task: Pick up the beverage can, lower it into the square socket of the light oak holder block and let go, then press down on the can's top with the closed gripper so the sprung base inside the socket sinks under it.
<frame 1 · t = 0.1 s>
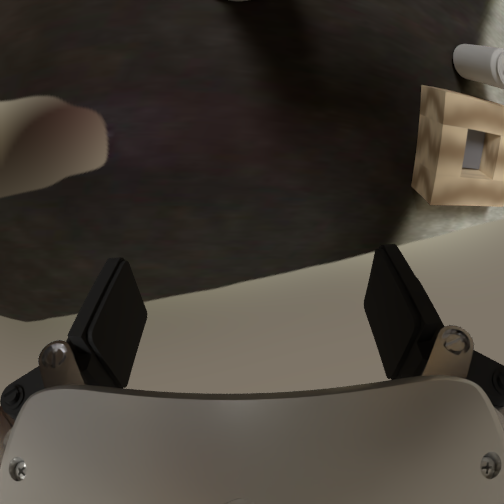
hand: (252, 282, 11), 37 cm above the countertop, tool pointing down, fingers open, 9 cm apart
sprung base: (466, 146, 40), point 3 cm above the countertop, slide at 0.0 cm
beverage can: (463, 61, 33), on the countertop
holder block: (458, 141, 42), on the countertop
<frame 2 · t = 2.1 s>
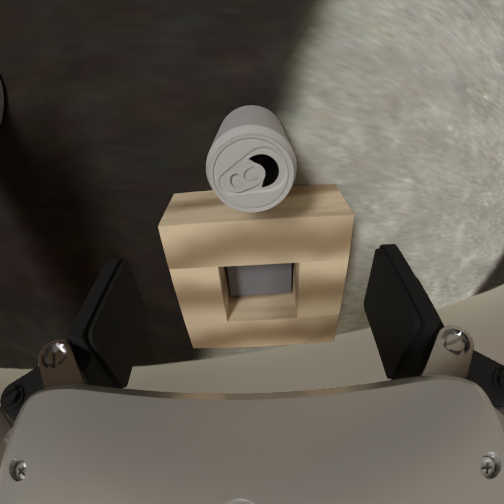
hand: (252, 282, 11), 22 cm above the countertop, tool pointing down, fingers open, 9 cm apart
sprung base: (259, 268, 36), point 3 cm above the countertop, slide at 0.0 cm
beverage can: (251, 133, 30), on the countertop
holder block: (258, 254, 38), on the countertop
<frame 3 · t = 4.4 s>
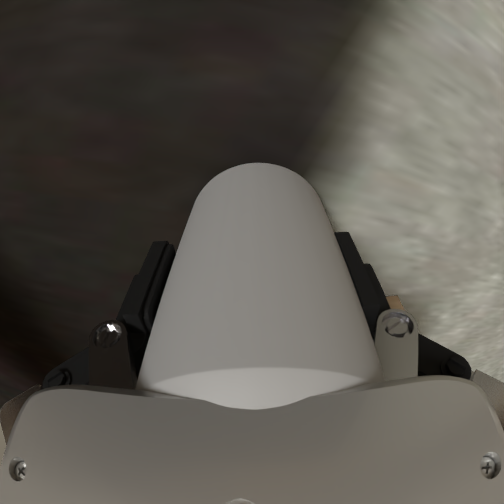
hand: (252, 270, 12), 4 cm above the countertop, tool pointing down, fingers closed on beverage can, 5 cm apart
beverage can: (257, 216, 15), on the countertop, touching gripper
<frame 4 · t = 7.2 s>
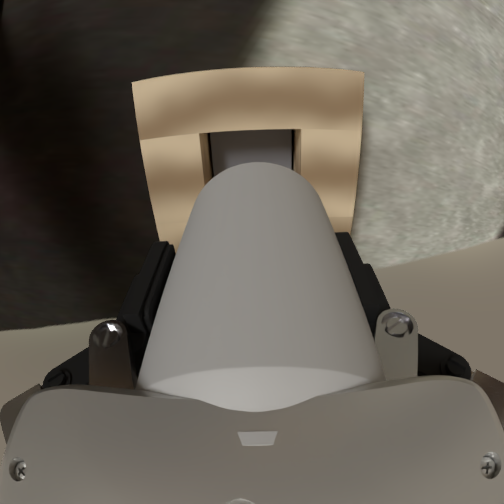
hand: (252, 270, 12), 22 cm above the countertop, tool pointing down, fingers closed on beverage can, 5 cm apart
sprung base: (252, 160, 29), point 3 cm above the countertop, slide at 0.0 cm
beverage can: (257, 216, 15), point 17 cm above the countertop, touching gripper
holder block: (252, 152, 31), on the countertop
when the fingers open (9 cm above the countertop, at t = 10.3 s): beverage can drops 2 cm, resting on sprung base.
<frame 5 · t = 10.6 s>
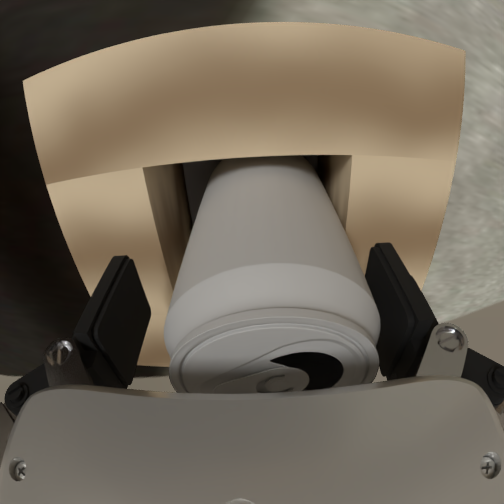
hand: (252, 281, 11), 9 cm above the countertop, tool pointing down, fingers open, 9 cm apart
sprung base: (252, 193, 18), point 2 cm above the countertop, slide at 1.2 cm, touching beverage can
beverage can: (263, 192, 17), point 2 cm above the countertop, touching sprung base
holder block: (252, 183, 19), on the countertop
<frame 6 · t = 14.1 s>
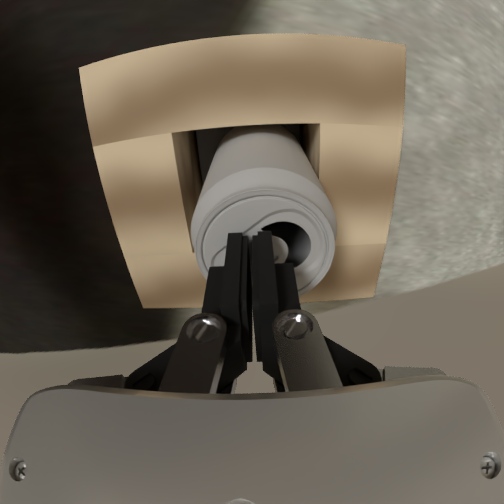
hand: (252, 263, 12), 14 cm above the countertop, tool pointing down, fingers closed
sprung base: (250, 160, 22), point 1 cm above the countertop, slide at 1.5 cm, touching beverage can
beverage can: (258, 159, 22), point 1 cm above the countertop, touching gripper, sprung base
holder block: (250, 155, 23), on the countertop
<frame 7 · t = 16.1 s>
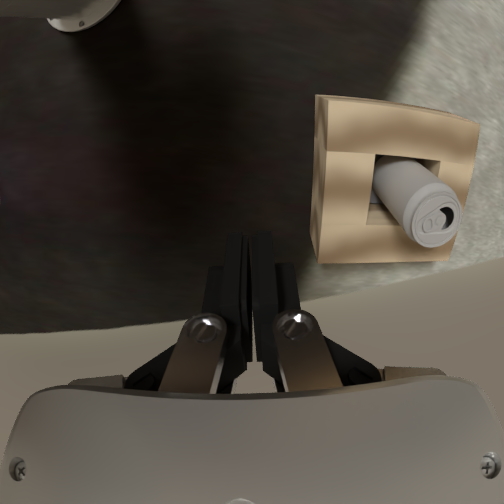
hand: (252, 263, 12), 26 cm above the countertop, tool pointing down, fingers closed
sprung base: (386, 174, 34), point 2 cm above the countertop, slide at 1.2 cm, touching beverage can
beverage can: (392, 174, 34), point 2 cm above the countertop, touching sprung base
holder block: (382, 170, 35), on the countertop
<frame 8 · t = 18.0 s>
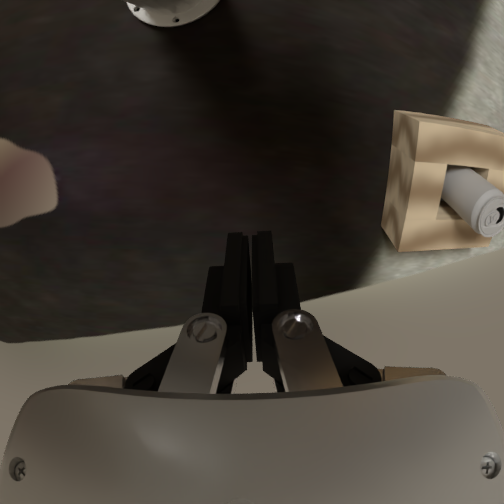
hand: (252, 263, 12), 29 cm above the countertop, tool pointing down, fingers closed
sprung base: (443, 177, 38), point 2 cm above the countertop, slide at 1.2 cm, touching beverage can
beverage can: (448, 177, 38), point 2 cm above the countertop, touching sprung base
holder block: (438, 173, 39), on the countertop
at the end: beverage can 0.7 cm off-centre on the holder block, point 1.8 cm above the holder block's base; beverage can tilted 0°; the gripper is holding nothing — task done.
